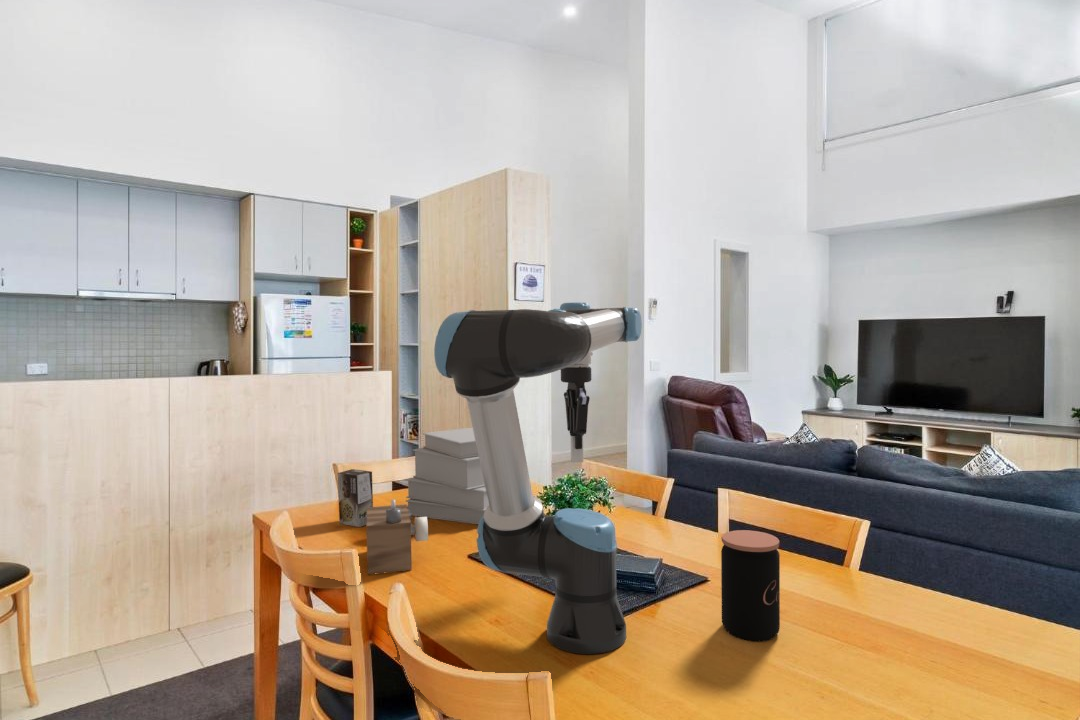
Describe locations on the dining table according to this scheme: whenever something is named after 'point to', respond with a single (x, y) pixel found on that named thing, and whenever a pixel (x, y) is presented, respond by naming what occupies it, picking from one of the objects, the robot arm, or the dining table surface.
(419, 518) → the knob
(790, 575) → the dining table surface
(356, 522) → the coffee box
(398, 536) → the block
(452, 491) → the book stack
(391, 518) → the potentiometer
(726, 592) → the coffee jar
